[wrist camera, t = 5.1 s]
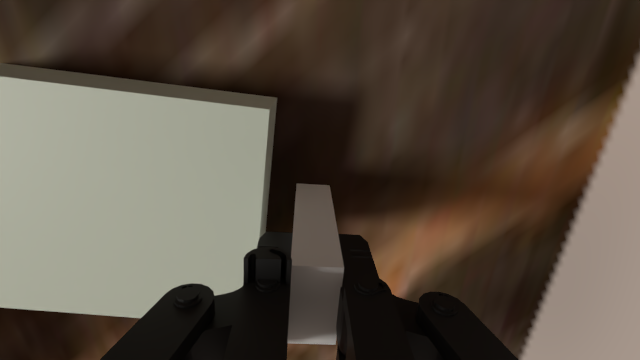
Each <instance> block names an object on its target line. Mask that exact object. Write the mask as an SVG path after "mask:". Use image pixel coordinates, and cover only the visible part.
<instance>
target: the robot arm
mask: <svg viewBox="0 0 640 360" xmlns="http://www.w3.org/2000/svg"><path fill="white" fill-rule="evenodd" d="M336 335H337V341H338V348H337V357H336V360H518V359H517V358H516V357H515V356H514V355H513V354H512V353H511V352H510V351H509V350H508V349H507V348H506V346H505V345H504V344H503V343H502V342H501V341H500V340H499V339H498V338H497V337H496V336H495V335H494V334H493V333H492V332H491V331H490V330H489V329H488V328H487V327H486V326H485V325H484V324H483V323H482V322H481V321H480V320H479V319H478V318H477V317H476V316H475V315H474V313H473V312H472V311H471V310H470V309H469V308H468V307H467V306H466V305H465V304H464V303H462V302H461V301H460V300H459V299H457V298H455V297H453V296H451V295H449V294H446V293H441V292H428V293H425V294H423V295H422V296H421V297H420V298H419V303H416V302H413V301H409V300H405V299H402V298H399V297H396V296H394V295H392V293H391V290H390V288H389V287H388V285H387V284H386V283H385V282H384V281H382V280H381V279H379V276H378V273H377V270H376V267H375V264H374V261H373V258H372V255H371V252H370V248H369V245H368V242H367V241H366V240H365V239H363V238H362V237H361V236H360V235H347V234H338V230H337V224H336V219H335V213H334V207H333V202H332V196H331V190H330V185H316V184H298V183H297V184H296V197H295V210H294V223H293V233H287V232H265V233H264V234H263V235H262V236H261V237H260V238H259V241H258V245H257V249H253V250H251V251H250V252H248V253H247V254H246V255H245V257H244V280H243V286H242V287H241V288H240V289H238V290H235V291H233V292H230V293H226V294H221V295H215V296H214V292H213V291H212V290H211V289H210V288H209V287H208V286H205V285H203V284H194V283H191V284H184V285H180V286H178V287H175V288H173V289H171V290H170V291H168V292H167V293H166V294H165V295H164V296H163V297H162V298H161V299H160V300H159V301H158V302H157V303H156V304H155V305H154V306H153V307H152V308H151V309H150V310H149V311H148V312H147V313H146V314H145V315H144V316H143V317H142V318H141V319H140V320H139V321H138V322H137V323H136V324H135V325H134V326H133V327H132V328H131V329H130V330H129V331H128V332H127V333H126V334H125V335H124V336H123V337H122V338H121V339H120V340H119V341H118V342H117V343H116V344H115V345H114V346H113V347H112V348H111V349H110V350H109V351H108V352H107V353H106V354H105V355H104V356H103V357H102V358H101V359H100V360H286V359H287V343H298V344H330V345H335V344H336Z"/></svg>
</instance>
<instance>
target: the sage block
mask: <svg viewBox="0 0 640 360" xmlns="http://www.w3.org/2000/svg"><path fill="white" fill-rule="evenodd" d="M276 106H277V98H276V97H268V96H260V95H252V94H244V93H236V92H228V91H220V90H212V89H204V88H196V87H188V86H180V85H172V84H164V83H156V82H148V81H140V80H133V79H125V78H117V77H109V76H101V75H93V74H85V73H77V72H69V71H61V70H53V69H45V68H37V67H29V66H21V65H13V64H5V63H0V308H13V309H26V310H39V311H52V312H66V313H79V314H92V315H105V316H118V317H131V318H142V317H143V316H144V315H145V314H146V313H147V312H148V311H149V310H150V309H151V308H152V307H153V306H154V305H155V304H156V303H157V302H158V301H159V300H160V299H161V298H162V297H163V296H164V295H165V294H166V293H167V292H168V291H170V290H171V289H173V288H175V287H178V286H180V285H184V284H191V283H194V284H203V285H205V286H208V287H209V288H210V289H211V290H212V291H213V292H214V296H215V295H221V294H226V293H230V292H233V291H235V290H238V289H240V288H241V287H242V286H243V280H244V257H245V255H246V254H247V253H248V252H250V251H251V250H253V249H257V245H258V241H259V238H260V237H261V236H262V235H263V234H264V233H265V232H266V221H267V210H268V198H269V187H270V175H271V164H272V152H273V140H274V129H275V117H276Z"/></svg>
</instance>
